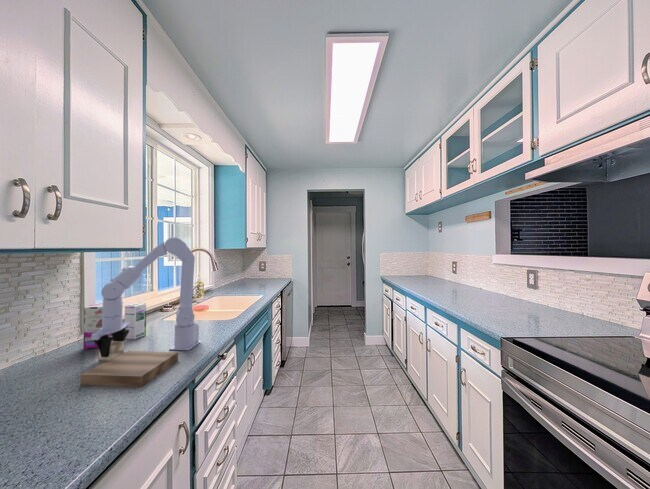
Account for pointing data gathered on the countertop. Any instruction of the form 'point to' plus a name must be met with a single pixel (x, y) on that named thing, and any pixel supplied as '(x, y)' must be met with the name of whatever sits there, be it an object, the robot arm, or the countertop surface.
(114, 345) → the birch cube
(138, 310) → the syrup box
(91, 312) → the candy bar box
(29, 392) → the countertop surface
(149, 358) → the walnut plinth
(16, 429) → the countertop surface
